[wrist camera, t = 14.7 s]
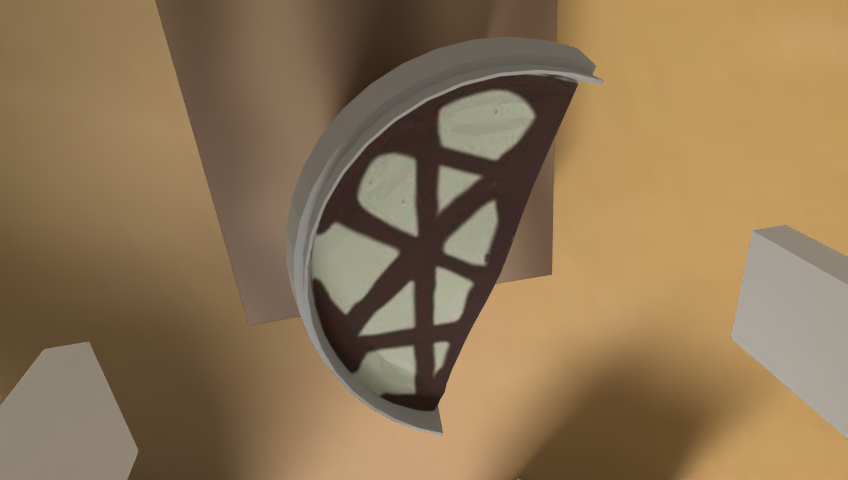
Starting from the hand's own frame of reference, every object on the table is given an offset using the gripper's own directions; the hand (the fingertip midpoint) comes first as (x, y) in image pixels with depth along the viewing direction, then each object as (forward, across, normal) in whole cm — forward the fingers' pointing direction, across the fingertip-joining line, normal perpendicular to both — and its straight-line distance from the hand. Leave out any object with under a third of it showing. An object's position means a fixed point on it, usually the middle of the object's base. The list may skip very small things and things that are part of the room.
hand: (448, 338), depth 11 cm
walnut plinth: (+18, 0, 0) cm, 18 cm away
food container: (+14, 0, 0) cm, 14 cm away
